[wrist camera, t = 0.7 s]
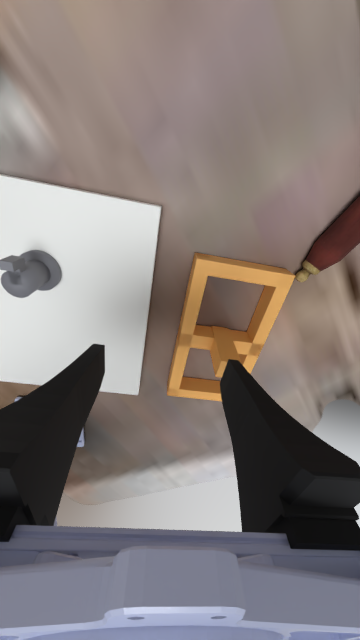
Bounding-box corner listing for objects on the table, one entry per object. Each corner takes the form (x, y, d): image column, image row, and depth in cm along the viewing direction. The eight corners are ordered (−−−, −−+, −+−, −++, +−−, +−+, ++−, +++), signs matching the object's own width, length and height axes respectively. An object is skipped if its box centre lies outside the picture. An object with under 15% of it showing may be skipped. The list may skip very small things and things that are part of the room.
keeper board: (139, 385, 27) (132, 425, 22) (-19, 368, 25) (-62, 408, 21) (161, 205, 17) (157, 211, 13) (-97, 154, 15) (-216, 138, 11)
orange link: (233, 389, 28) (245, 430, 23) (167, 382, 27) (166, 423, 22) (285, 268, 20) (319, 292, 15) (194, 252, 19) (201, 273, 14)
